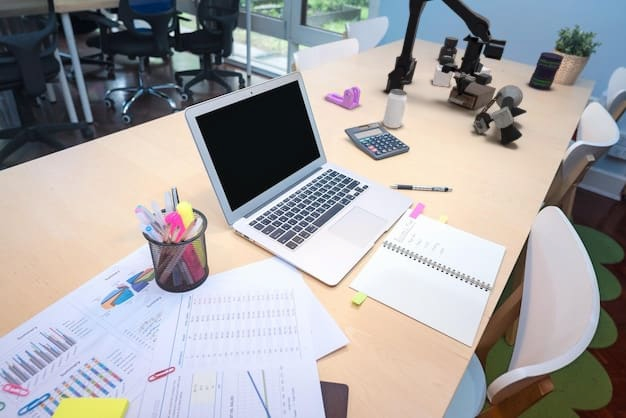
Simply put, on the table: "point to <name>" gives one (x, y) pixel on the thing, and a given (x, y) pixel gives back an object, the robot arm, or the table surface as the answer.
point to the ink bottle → (449, 48)
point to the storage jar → (545, 71)
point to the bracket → (346, 98)
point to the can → (395, 108)
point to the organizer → (479, 94)
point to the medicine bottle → (439, 76)
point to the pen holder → (409, 76)
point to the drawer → (462, 99)
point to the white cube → (484, 71)
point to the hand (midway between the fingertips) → (459, 95)
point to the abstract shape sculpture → (503, 114)
